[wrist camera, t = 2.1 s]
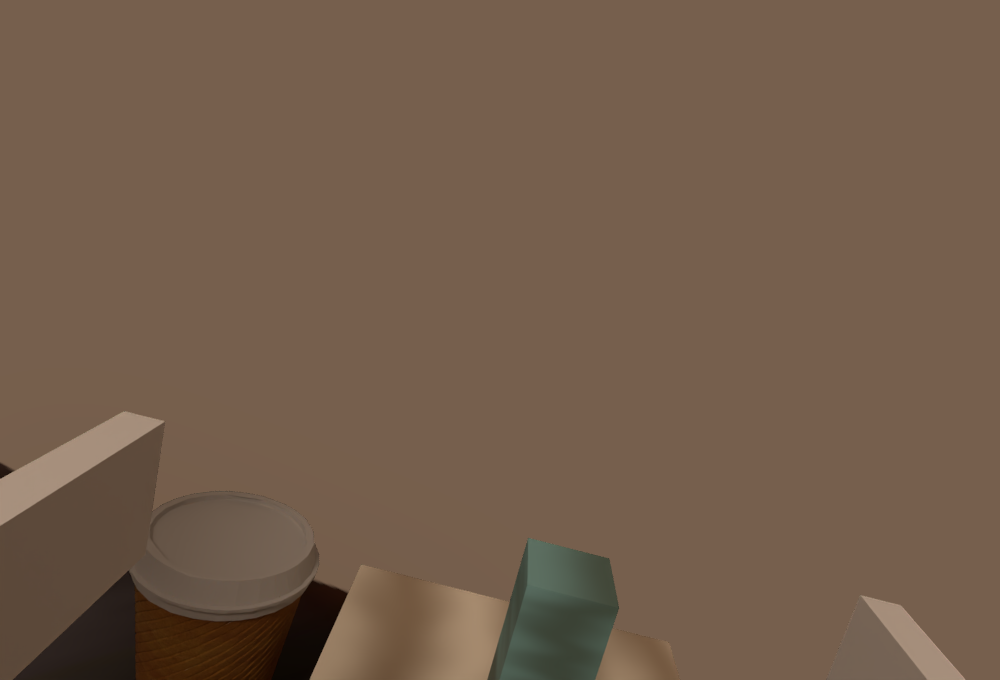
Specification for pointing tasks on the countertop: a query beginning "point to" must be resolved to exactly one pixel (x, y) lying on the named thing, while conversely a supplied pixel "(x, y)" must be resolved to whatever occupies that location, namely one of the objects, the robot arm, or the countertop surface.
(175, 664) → the disposable coffee cup
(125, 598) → the countertop surface
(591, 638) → the lid
